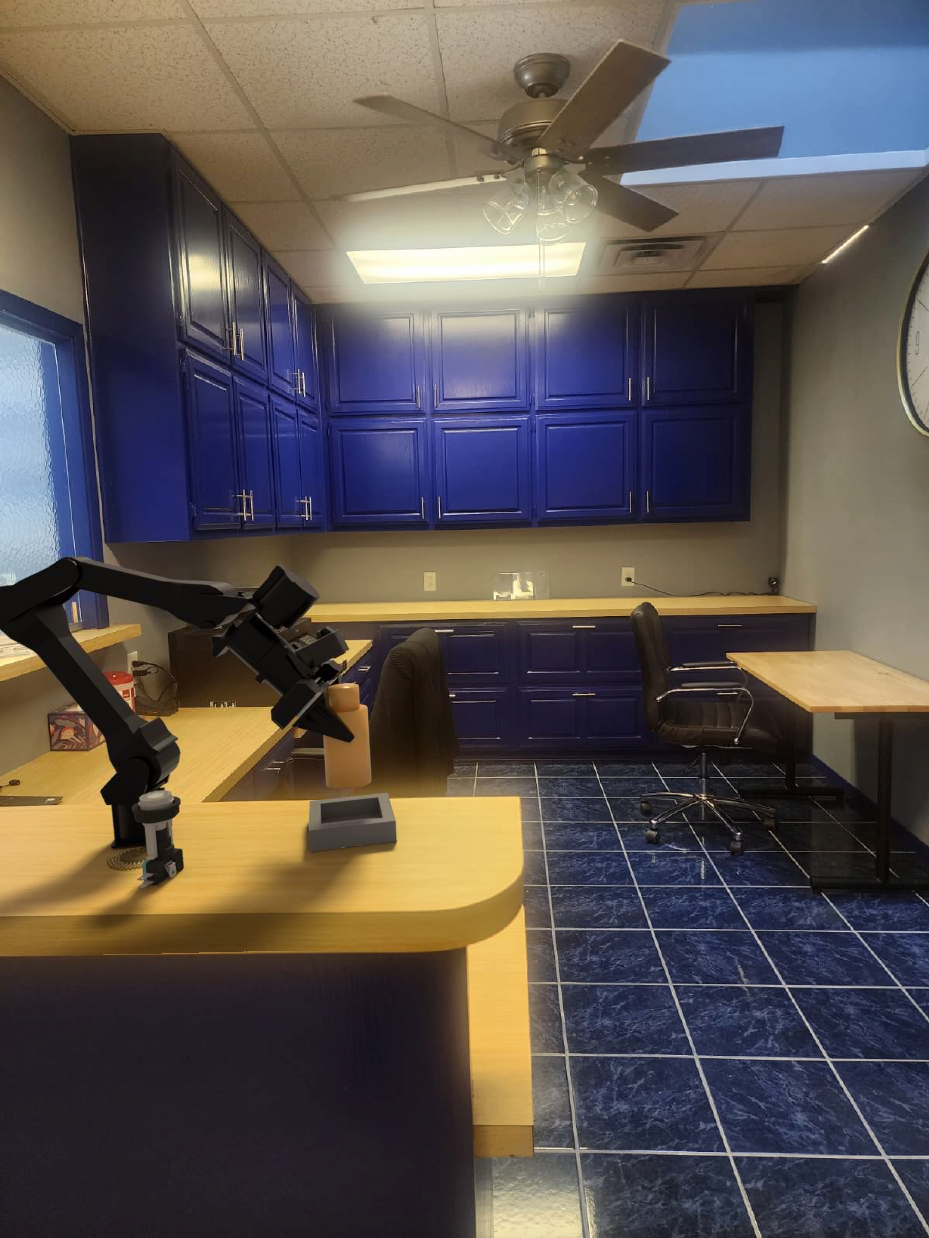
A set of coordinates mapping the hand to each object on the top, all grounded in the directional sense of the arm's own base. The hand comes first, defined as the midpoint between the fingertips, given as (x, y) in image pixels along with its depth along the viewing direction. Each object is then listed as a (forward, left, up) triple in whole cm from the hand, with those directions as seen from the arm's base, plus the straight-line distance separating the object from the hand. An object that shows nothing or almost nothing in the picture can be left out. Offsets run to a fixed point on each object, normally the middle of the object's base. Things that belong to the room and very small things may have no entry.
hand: (356, 733), depth 97 cm
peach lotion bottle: (-1, 0, -7) cm, 7 cm away
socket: (-1, 0, -13) cm, 13 cm away
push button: (-24, -8, -14) cm, 29 cm away
